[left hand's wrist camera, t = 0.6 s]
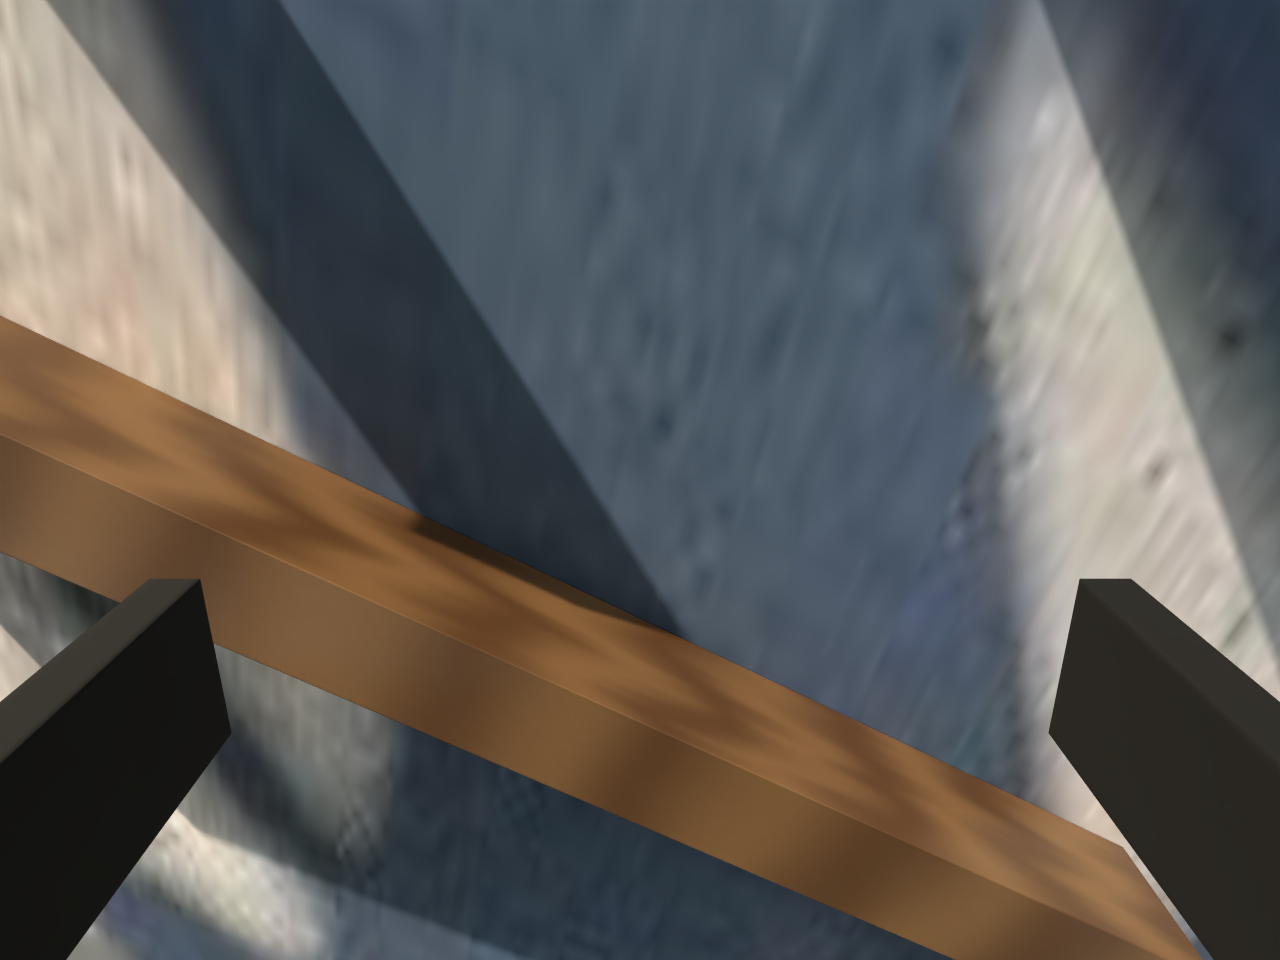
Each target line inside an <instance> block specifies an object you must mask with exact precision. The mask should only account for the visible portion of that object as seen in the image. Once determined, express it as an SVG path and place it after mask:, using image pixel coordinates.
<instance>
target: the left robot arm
mask: <svg viewBox="0 0 1280 960" xmlns="http://www.w3.org/2000/svg"><path fill="white" fill-rule="evenodd" d="M230 734H231V728H230V723H229V718H228V714H227V709H226V704H225V699H224V694H223V689H222V684H221V679H220V674H219V669H218V664H217V659H216V654H215V649H214V644H213V639H212V634H211V629H210V624H209V619H208V614H207V610H206V605H205V600H204V595H203V590H202V585H201V580H200V579H148V580H147V581H146V582H145V583H143V584H142V585H141V586H140V587H138V588H137V589H136V590H135V591H134V592H132V593H131V594H130V595H129V596H128V597H126V598H125V599H124V600H123V601H122V602H120V603H119V604H118V605H117V606H116V607H114V608H113V609H112V610H111V611H110V612H108V613H107V614H106V615H105V616H103V617H102V618H101V619H100V620H99V621H97V622H96V623H95V624H94V625H93V626H91V627H90V628H89V629H88V630H87V631H85V632H84V633H83V634H82V635H81V636H79V637H78V638H77V639H76V640H75V641H73V642H72V643H71V644H70V645H68V646H67V647H66V648H65V649H64V650H62V651H61V652H60V653H59V654H58V655H56V656H55V657H54V658H53V659H52V660H50V661H49V662H48V663H47V664H46V665H44V666H43V667H42V668H41V669H40V670H38V671H37V672H36V673H35V674H33V675H32V676H31V677H30V678H29V679H27V680H26V681H25V682H24V683H23V684H21V685H20V686H19V687H18V688H17V689H15V690H14V691H13V692H12V693H11V694H9V695H8V696H7V697H6V698H5V699H3V700H2V701H1V702H0V960H66V959H67V958H68V957H69V955H70V954H71V952H72V951H73V950H74V948H75V947H76V946H77V944H78V943H79V941H80V940H81V939H82V937H83V936H84V935H85V933H86V932H87V930H88V929H89V928H90V926H91V925H92V924H93V922H94V921H95V920H96V918H97V917H98V915H99V914H100V913H101V911H102V910H103V909H104V907H105V906H106V904H107V903H108V902H109V900H110V899H111V898H112V896H113V895H114V893H115V892H116V891H117V889H118V888H119V887H120V885H121V884H122V882H123V881H124V880H125V878H126V877H127V876H128V874H129V873H130V871H131V870H132V869H133V867H134V866H135V865H136V863H137V862H138V860H139V859H140V858H141V856H142V855H143V854H144V852H145V851H146V849H147V848H148V847H149V845H150V844H151V843H152V841H153V840H154V839H155V837H156V836H157V834H158V833H159V832H160V830H161V829H162V828H163V826H164V825H165V823H166V822H167V821H168V819H169V818H170V817H171V815H172V814H173V812H174V811H175V810H176V808H177V807H178V806H179V804H180V803H181V801H182V800H183V799H184V797H185V796H186V795H187V793H188V792H189V790H190V789H191V788H192V786H193V785H194V784H195V782H196V781H197V779H198V778H199V777H200V775H201V774H202V773H203V771H204V770H205V768H206V767H207V766H208V764H209V763H210V762H211V760H212V759H213V758H214V756H215V755H216V753H217V752H218V751H219V749H220V748H221V747H222V745H223V744H224V742H225V741H226V740H227V738H228V737H229V736H230ZM1049 734H1050V736H1051V737H1052V738H1053V740H1054V741H1055V742H1056V744H1057V745H1058V747H1059V748H1060V749H1061V751H1062V752H1063V753H1064V755H1065V756H1066V758H1067V759H1068V760H1069V762H1070V763H1071V764H1072V766H1073V767H1074V768H1075V770H1076V771H1077V773H1078V774H1079V775H1080V777H1081V778H1082V779H1083V781H1084V782H1085V784H1086V785H1087V786H1088V788H1089V789H1090V790H1091V792H1092V793H1093V795H1094V796H1095V797H1096V799H1097V800H1098V801H1099V803H1100V804H1101V806H1102V807H1103V808H1104V810H1105V811H1106V812H1107V814H1108V815H1109V817H1110V818H1111V819H1112V821H1113V822H1114V823H1115V825H1116V826H1117V828H1118V829H1119V830H1120V832H1121V833H1122V834H1123V836H1124V837H1125V839H1126V840H1127V841H1128V843H1129V844H1130V845H1131V847H1132V848H1133V849H1134V851H1135V852H1136V854H1137V855H1138V856H1139V858H1140V859H1141V860H1142V862H1143V863H1144V865H1145V866H1146V867H1147V869H1148V870H1149V871H1150V873H1151V874H1152V876H1153V877H1154V878H1155V880H1156V881H1157V882H1158V884H1159V885H1160V887H1161V888H1162V889H1163V891H1164V892H1165V893H1166V895H1167V896H1168V898H1169V899H1170V900H1171V902H1172V903H1173V904H1174V906H1175V907H1176V909H1177V910H1178V911H1179V913H1180V914H1181V915H1182V917H1183V918H1184V920H1185V921H1186V922H1187V924H1188V925H1189V926H1190V928H1191V929H1192V930H1193V932H1194V933H1195V935H1196V936H1197V937H1198V939H1199V940H1200V941H1201V943H1202V944H1203V946H1204V947H1205V948H1206V950H1207V951H1208V952H1209V954H1210V955H1211V957H1212V958H1213V959H1214V960H1280V702H1279V701H1278V700H1277V699H1275V698H1274V697H1273V696H1272V695H1271V694H1269V693H1268V692H1267V691H1266V690H1265V689H1263V688H1262V687H1261V686H1260V685H1259V684H1257V683H1256V682H1255V681H1254V680H1253V679H1251V678H1250V677H1249V676H1248V675H1247V674H1245V673H1244V672H1243V671H1242V670H1240V669H1239V668H1238V667H1237V666H1236V665H1234V664H1233V663H1232V662H1231V661H1230V660H1228V659H1227V658H1226V657H1225V656H1224V655H1222V654H1221V653H1220V652H1219V651H1218V650H1216V649H1215V648H1214V647H1213V646H1212V645H1210V644H1209V643H1208V642H1207V641H1205V640H1204V639H1203V638H1202V637H1201V636H1199V635H1198V634H1197V633H1196V632H1195V631H1193V630H1192V629H1191V628H1190V627H1189V626H1187V625H1186V624H1185V623H1184V622H1183V621H1181V620H1180V619H1179V618H1178V617H1177V616H1175V615H1174V614H1173V613H1172V612H1170V611H1169V610H1168V609H1167V608H1166V607H1164V606H1163V605H1162V604H1161V603H1160V602H1158V601H1157V600H1156V599H1155V598H1154V597H1152V596H1151V595H1150V594H1149V593H1148V592H1146V591H1145V590H1144V589H1143V588H1142V587H1140V586H1139V585H1138V584H1137V583H1135V582H1134V581H1133V580H1132V579H1080V580H1079V585H1078V590H1077V595H1076V600H1075V605H1074V610H1073V614H1072V619H1071V624H1070V629H1069V634H1068V639H1067V644H1066V649H1065V654H1064V659H1063V664H1062V669H1061V674H1060V679H1059V684H1058V689H1057V694H1056V699H1055V704H1054V709H1053V714H1052V718H1051V723H1050V728H1049Z"/></svg>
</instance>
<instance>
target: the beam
mask: <svg viewBox="0 0 1280 960" xmlns="http://www.w3.org/2000/svg"><path fill="white" fill-rule="evenodd" d="M0 552H2V553H4V554H7V555H9V556H11V557H14V558H16V559H18V560H21V561H23V562H25V563H28V564H30V565H32V566H35V567H37V568H39V569H42V570H44V571H46V572H49V573H51V574H53V575H56V576H58V577H60V578H63V579H65V580H67V581H70V582H72V583H74V584H77V585H79V586H81V587H84V588H86V589H88V590H91V591H93V592H95V593H98V594H100V595H102V596H105V597H107V598H110V599H112V600H114V601H117V602H119V603H120V602H122V601H123V600H124V599H125V598H126V597H128V596H129V595H130V594H131V593H132V592H134V591H135V590H136V589H137V588H138V587H140V586H141V585H142V584H143V583H145V582H146V581H147V580H148V579H200V580H201V585H202V590H203V595H204V600H205V605H206V610H207V614H208V619H209V624H210V629H211V634H212V639H213V643H215V644H217V645H219V646H222V647H224V648H227V649H229V650H231V651H234V652H236V653H238V654H241V655H243V656H245V657H248V658H250V659H252V660H255V661H257V662H259V663H262V664H264V665H266V666H269V667H271V668H273V669H276V670H278V671H280V672H283V673H285V674H287V675H290V676H292V677H294V678H297V679H299V680H301V681H304V682H306V683H308V684H311V685H313V686H315V687H318V688H320V689H322V690H325V691H327V692H329V693H332V694H334V695H336V696H339V697H341V698H343V699H346V700H348V701H351V702H353V703H355V704H358V705H360V706H362V707H365V708H367V709H369V710H372V711H374V712H376V713H379V714H381V715H383V716H386V717H388V718H390V719H393V720H395V721H397V722H400V723H402V724H404V725H407V726H409V727H411V728H414V729H416V730H418V731H421V732H423V733H425V734H428V735H430V736H432V737H435V738H437V739H439V740H442V741H444V742H446V743H449V744H451V745H453V746H456V747H458V748H460V749H463V750H465V751H467V752H470V753H472V754H475V755H477V756H479V757H482V758H484V759H486V760H489V761H491V762H493V763H496V764H498V765H500V766H503V767H505V768H507V769H510V770H512V771H514V772H517V773H519V774H521V775H524V776H526V777H528V778H531V779H533V780H535V781H538V782H540V783H542V784H545V785H547V786H549V787H552V788H554V789H556V790H559V791H561V792H563V793H566V794H568V795H570V796H573V797H575V798H577V799H580V800H582V801H584V802H587V803H589V804H592V805H594V806H596V807H599V808H601V809H603V810H606V811H608V812H610V813H613V814H615V815H617V816H620V817H622V818H624V819H627V820H629V821H631V822H634V823H636V824H638V825H641V826H643V827H645V828H648V829H650V830H652V831H655V832H657V833H659V834H662V835H664V836H666V837H669V838H671V839H673V840H676V841H678V842H680V843H683V844H685V845H687V846H690V847H692V848H694V849H697V850H699V851H701V852H704V853H706V854H708V855H711V856H713V857H716V858H718V859H720V860H723V861H725V862H727V863H730V864H732V865H734V866H737V867H739V868H741V869H744V870H746V871H748V872H751V873H753V874H755V875H758V876H760V877H762V878H765V879H767V880H769V881H772V882H774V883H776V884H779V885H781V886H783V887H786V888H788V889H790V890H793V891H795V892H797V893H800V894H802V895H804V896H807V897H809V898H811V899H814V900H816V901H818V902H821V903H823V904H825V905H828V906H830V907H832V908H835V909H837V910H840V911H842V912H844V913H847V914H849V915H851V916H854V917H856V918H858V919H861V920H863V921H865V922H868V923H870V924H872V925H875V926H877V927H879V928H882V929H884V930H886V931H889V932H891V933H893V934H896V935H898V936H900V937H903V938H905V939H907V940H910V941H912V942H914V943H917V944H919V945H921V946H924V947H926V948H928V949H931V950H933V951H935V952H938V953H940V954H942V955H945V956H947V957H949V958H952V959H954V960H1203V959H1202V958H1201V957H1200V955H1199V954H1198V952H1197V951H1196V950H1195V948H1194V947H1193V945H1192V944H1191V943H1190V941H1189V940H1188V938H1187V937H1186V935H1185V934H1184V933H1183V931H1182V930H1181V928H1180V927H1179V926H1178V924H1177V923H1176V921H1175V920H1174V919H1173V917H1172V916H1171V914H1170V913H1169V912H1168V910H1167V909H1166V907H1165V906H1164V905H1163V903H1162V902H1161V900H1160V899H1159V897H1158V896H1157V895H1156V893H1155V892H1154V890H1153V889H1152V888H1151V886H1150V885H1149V883H1148V882H1147V881H1146V879H1145V878H1144V876H1143V875H1142V874H1141V872H1140V871H1139V869H1138V868H1137V867H1136V865H1135V864H1134V862H1133V861H1132V859H1131V858H1130V857H1129V855H1128V854H1127V852H1126V851H1125V850H1124V848H1123V847H1121V846H1119V845H1117V844H1115V843H1113V842H1111V841H1109V840H1106V839H1104V838H1102V837H1100V836H1098V835H1096V834H1094V833H1092V832H1090V831H1087V830H1085V829H1083V828H1081V827H1079V826H1077V825H1075V824H1073V823H1071V822H1068V821H1066V820H1064V819H1062V818H1060V817H1058V816H1056V815H1054V814H1052V813H1049V812H1047V811H1045V810H1043V809H1041V808H1039V807H1037V806H1035V805H1033V804H1030V803H1028V802H1026V801H1024V800H1022V799H1020V798H1018V797H1016V796H1014V795H1011V794H1009V793H1007V792H1005V791H1003V790H1001V789H999V788H997V787H995V786H992V785H990V784H988V783H986V782H984V781H982V780H980V779H978V778H976V777H973V776H971V775H969V774H967V773H965V772H963V771H961V770H959V769H956V768H954V767H952V766H950V765H948V764H946V763H944V762H942V761H940V760H937V759H935V758H933V757H931V756H929V755H927V754H925V753H923V752H921V751H918V750H916V749H914V748H912V747H910V746H908V745H906V744H904V743H902V742H899V741H897V740H895V739H893V738H891V737H889V736H887V735H885V734H883V733H880V732H878V731H876V730H874V729H872V728H870V727H868V726H866V725H864V724H861V723H859V722H857V721H855V720H853V719H851V718H849V717H847V716H845V715H842V714H840V713H838V712H836V711H834V710H832V709H830V708H828V707H826V706H823V705H821V704H819V703H817V702H815V701H813V700H811V699H809V698H807V697H804V696H802V695H800V694H798V693H796V692H794V691H792V690H790V689H788V688H785V687H783V686H781V685H779V684H777V683H775V682H773V681H771V680H768V679H766V678H764V677H762V676H760V675H758V674H756V673H754V672H752V671H749V670H747V669H745V668H743V667H741V666H739V665H737V664H735V663H733V662H730V661H728V660H726V659H724V658H722V657H720V656H718V655H716V654H714V653H711V652H709V651H707V650H705V649H703V648H701V647H699V646H697V645H695V644H692V643H690V642H688V641H686V640H684V639H682V638H680V637H678V636H676V635H673V634H671V633H669V632H667V631H665V630H663V629H661V628H659V627H657V626H654V625H652V624H650V623H648V622H646V621H644V620H642V619H640V618H638V617H635V616H633V615H631V614H629V613H627V612H625V611H623V610H621V609H619V608H616V607H614V606H612V605H610V604H608V603H606V602H604V601H602V600H600V599H597V598H595V597H593V596H591V595H589V594H587V593H585V592H583V591H580V590H578V589H576V588H574V587H572V586H570V585H568V584H566V583H564V582H561V581H559V580H557V579H555V578H553V577H551V576H549V575H547V574H545V573H542V572H540V571H538V570H536V569H534V568H532V567H530V566H528V565H526V564H523V563H521V562H519V561H517V560H515V559H513V558H511V557H509V556H507V555H504V554H502V553H500V552H498V551H496V550H494V549H492V548H490V547H488V546H485V545H483V544H481V543H479V542H477V541H475V540H473V539H471V538H469V537H466V536H464V535H462V534H460V533H458V532H456V531H454V530H452V529H450V528H447V527H445V526H443V525H441V524H439V523H437V522H435V521H433V520H431V519H428V518H426V517H424V516H422V515H420V514H418V513H416V512H414V511H411V510H409V509H407V508H405V507H403V506H401V505H399V504H397V503H395V502H392V501H390V500H388V499H386V498H384V497H382V496H380V495H378V494H376V493H373V492H371V491H369V490H367V489H365V488H363V487H361V486H359V485H357V484H354V483H352V482H350V481H348V480H346V479H344V478H342V477H340V476H338V475H335V474H333V473H331V472H329V471H327V470H325V469H323V468H321V467H319V466H316V465H314V464H312V463H310V462H308V461H306V460H304V459H302V458H300V457H297V456H295V455H293V454H291V453H289V452H287V451H285V450H283V449H281V448H278V447H276V446H274V445H272V444H270V443H268V442H266V441H264V440H262V439H259V438H257V437H255V436H253V435H251V434H249V433H247V432H245V431H243V430H240V429H238V428H236V427H234V426H232V425H230V424H228V423H226V422H223V421H221V420H219V419H217V418H215V417H213V416H211V415H209V414H207V413H204V412H202V411H200V410H198V409H196V408H194V407H192V406H190V405H188V404H185V403H183V402H181V401H179V400H177V399H175V398H173V397H171V396H169V395H166V394H164V393H162V392H160V391H158V390H156V389H154V388H152V387H150V386H147V385H145V384H143V383H141V382H139V381H137V380H135V379H133V378H131V377H128V376H126V375H124V374H122V373H120V372H118V371H116V370H114V369H112V368H109V367H107V366H105V365H103V364H101V363H99V362H97V361H95V360H93V359H90V358H88V357H86V356H84V355H82V354H80V353H78V352H76V351H74V350H71V349H69V348H67V347H65V346H63V345H61V344H59V343H57V342H55V341H52V340H50V339H48V338H46V337H44V336H42V335H40V334H38V333H35V332H33V331H31V330H29V329H27V328H25V327H23V326H21V325H19V324H16V323H14V322H12V321H10V320H8V319H6V318H4V317H2V316H0Z"/></svg>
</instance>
